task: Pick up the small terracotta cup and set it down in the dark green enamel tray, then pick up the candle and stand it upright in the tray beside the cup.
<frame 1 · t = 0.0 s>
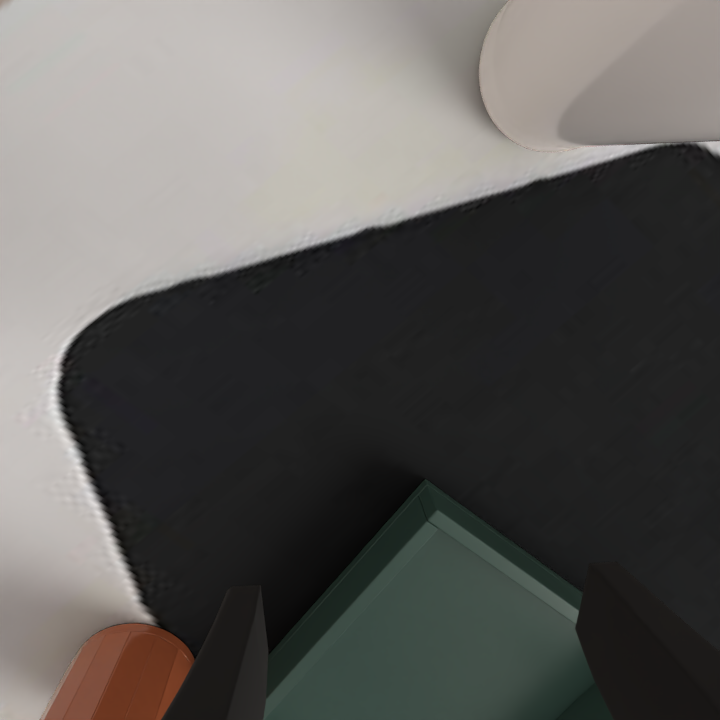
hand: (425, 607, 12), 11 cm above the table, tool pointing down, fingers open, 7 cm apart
cup: (136, 673, 24), on the table
drinking glass: (546, 74, 19), on the table
tray: (430, 676, 26), on the table
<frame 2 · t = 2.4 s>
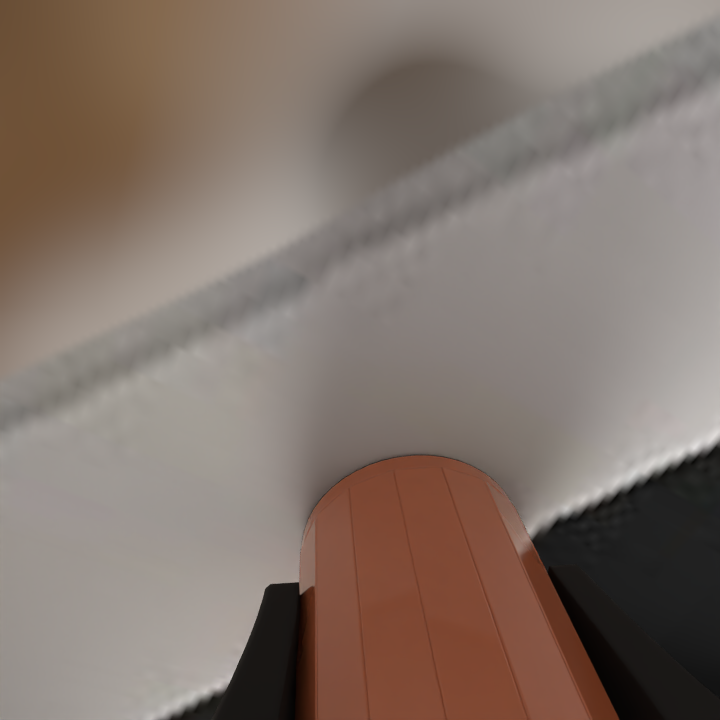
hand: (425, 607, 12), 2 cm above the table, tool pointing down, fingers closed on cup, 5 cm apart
cup: (410, 544, 14), on the table, touching gripper
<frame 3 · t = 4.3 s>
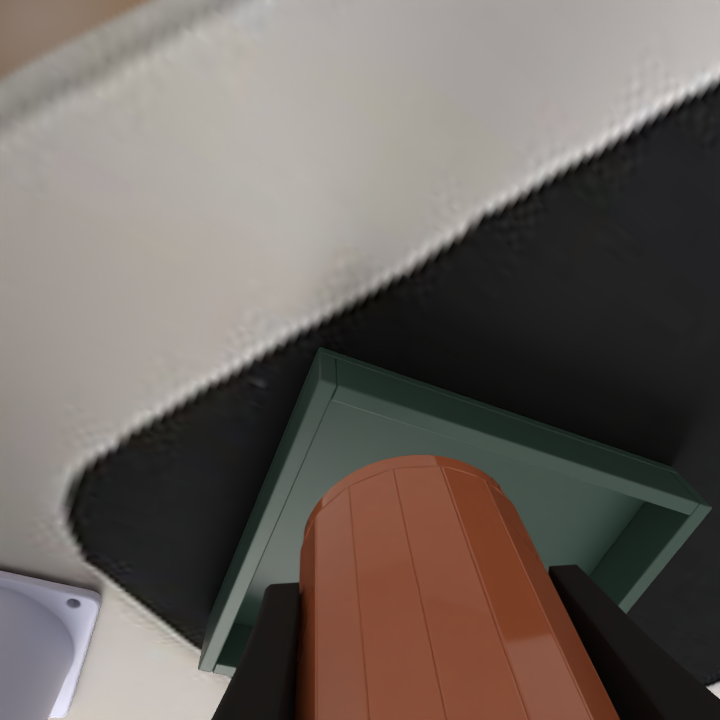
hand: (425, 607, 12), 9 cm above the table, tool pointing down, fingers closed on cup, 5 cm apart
cup: (410, 543, 14), point 7 cm above the table, touching gripper
tray: (432, 544, 23), on the table
when the fingers open (2 cm above the table, at t = 6.7 s): cup stays where it is, resting on tray.
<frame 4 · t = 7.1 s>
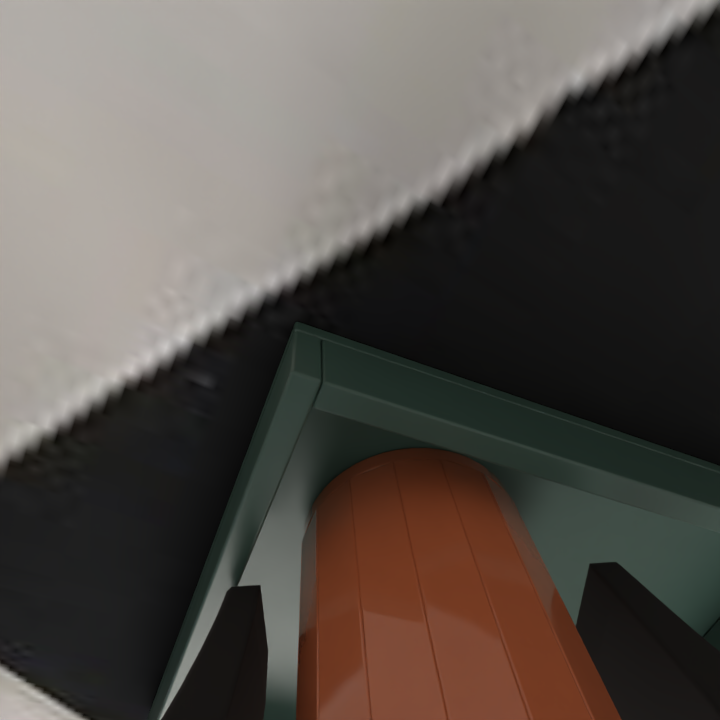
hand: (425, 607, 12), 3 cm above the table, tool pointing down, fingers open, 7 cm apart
cup: (409, 535, 14), resting on tray
tray: (466, 611, 16), on the table
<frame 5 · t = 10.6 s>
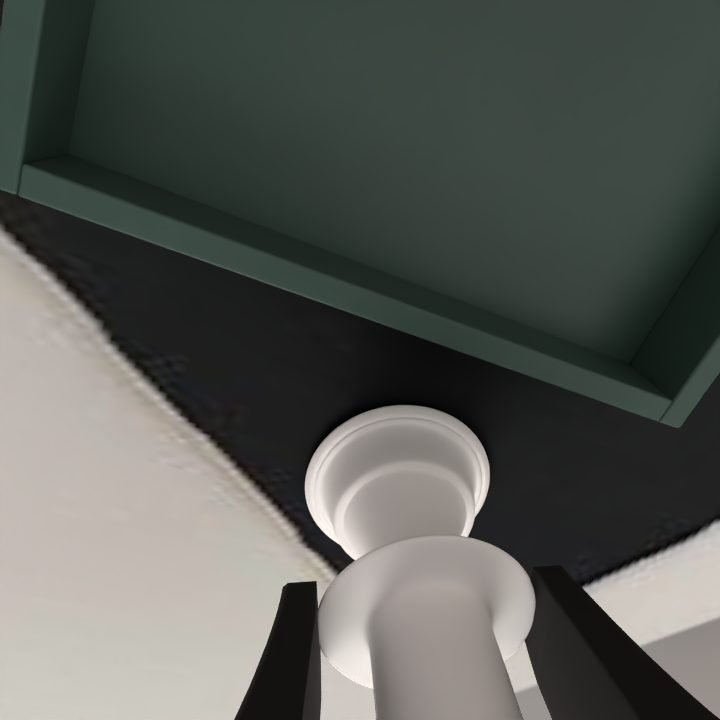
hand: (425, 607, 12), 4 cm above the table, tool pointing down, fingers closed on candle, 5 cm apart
candle: (396, 478, 16), on the table, touching gripper
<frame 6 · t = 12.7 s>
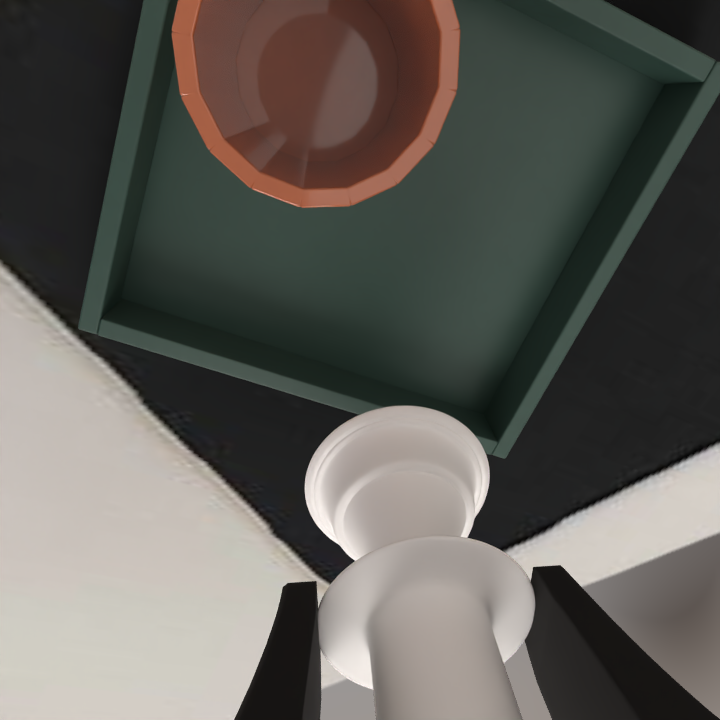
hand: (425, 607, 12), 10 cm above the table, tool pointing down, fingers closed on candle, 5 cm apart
cup: (318, 77, 16), resting on tray
candle: (396, 478, 16), point 6 cm above the table, touching gripper
tray: (378, 193, 18), on the table
when the fingers open (5 cm above the table, at t = 15.2 s): candle stays where it is, resting on tray.
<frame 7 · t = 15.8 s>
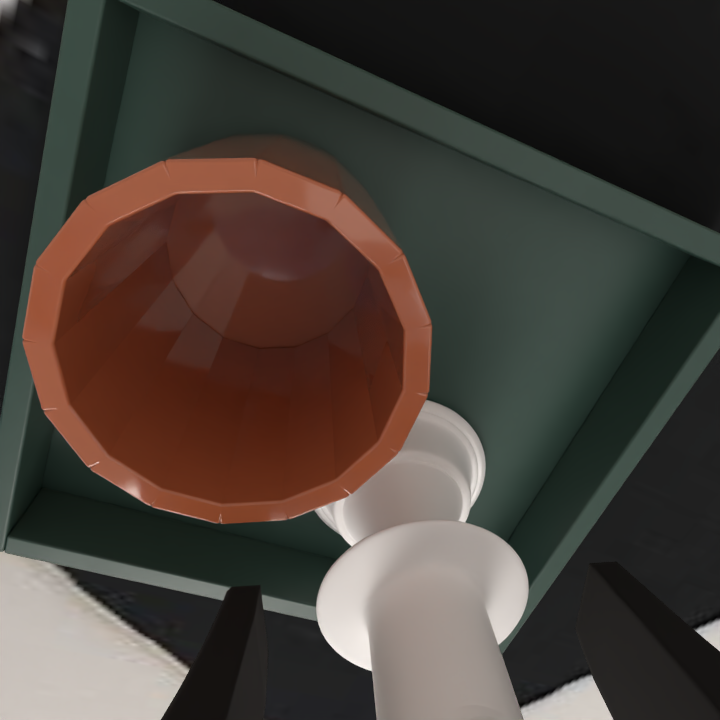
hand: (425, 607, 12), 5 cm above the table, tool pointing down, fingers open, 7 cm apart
cup: (271, 252, 13), resting on tray
candle: (394, 469, 17), resting on tray
tray: (348, 368, 15), on the table
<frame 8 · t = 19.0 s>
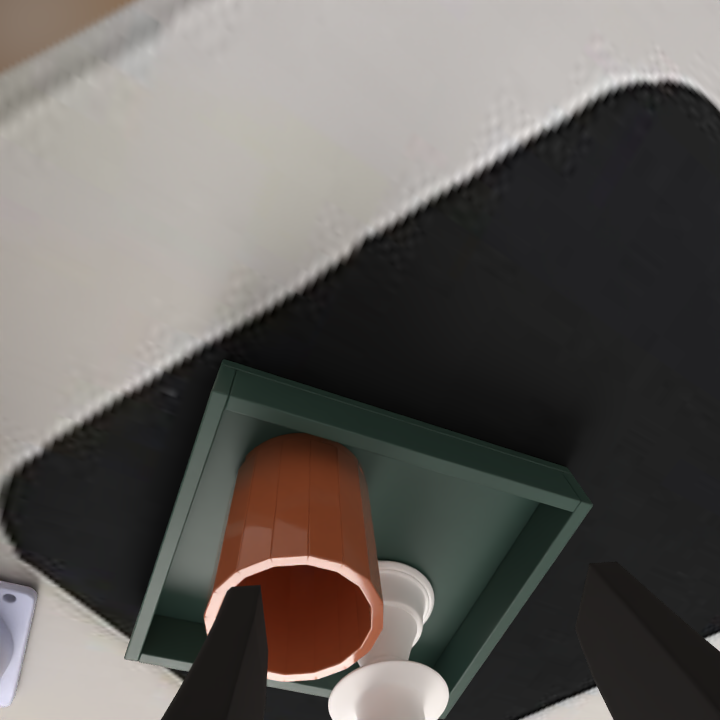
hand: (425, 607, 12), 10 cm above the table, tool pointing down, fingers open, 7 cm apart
cup: (300, 488, 23), resting on tray
candle: (376, 598, 26), resting on tray
tray: (346, 541, 25), on the table
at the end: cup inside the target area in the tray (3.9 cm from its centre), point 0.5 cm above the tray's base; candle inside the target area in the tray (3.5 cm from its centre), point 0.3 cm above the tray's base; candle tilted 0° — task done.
